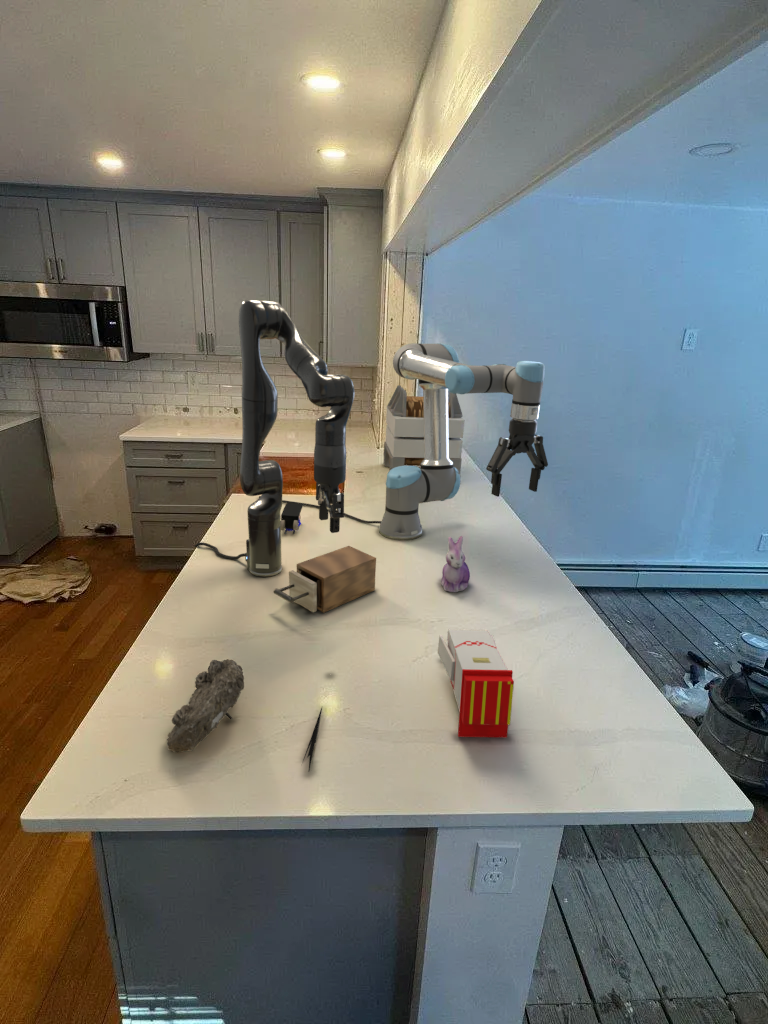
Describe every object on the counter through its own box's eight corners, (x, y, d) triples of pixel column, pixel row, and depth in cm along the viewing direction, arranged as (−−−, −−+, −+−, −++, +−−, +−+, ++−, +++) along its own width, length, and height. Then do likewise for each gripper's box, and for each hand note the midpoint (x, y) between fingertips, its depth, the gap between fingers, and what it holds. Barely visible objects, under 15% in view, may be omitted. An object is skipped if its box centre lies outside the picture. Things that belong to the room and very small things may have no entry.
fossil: (192, 660, 117) (244, 628, 112) (224, 691, 120) (276, 661, 115) (142, 746, 98) (202, 712, 93) (182, 779, 101) (242, 748, 96)
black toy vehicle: (298, 540, 193) (303, 520, 207) (298, 520, 190) (303, 501, 204) (279, 540, 193) (285, 519, 207) (278, 520, 190) (284, 501, 203)
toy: (488, 613, 130) (523, 677, 101) (484, 667, 133) (517, 744, 104) (435, 612, 130) (455, 676, 101) (432, 666, 133) (451, 743, 103)
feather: (331, 679, 122) (336, 673, 122) (307, 777, 96) (313, 769, 95) (324, 675, 122) (329, 669, 121) (298, 772, 95) (304, 764, 95)
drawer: (294, 620, 140) (293, 591, 138) (270, 606, 147) (269, 578, 144) (362, 591, 156) (363, 564, 154) (338, 578, 163) (339, 553, 160)
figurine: (451, 596, 157) (455, 546, 152) (431, 580, 166) (435, 533, 161) (478, 590, 162) (484, 541, 157) (458, 575, 170) (462, 529, 165)
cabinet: (323, 613, 146) (323, 578, 143) (297, 597, 154) (296, 563, 150) (374, 590, 159) (376, 557, 156) (348, 576, 166) (348, 545, 163)
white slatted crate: (382, 463, 289) (386, 382, 275) (445, 464, 293) (451, 384, 279) (390, 482, 257) (394, 392, 243) (460, 483, 261) (468, 394, 247)
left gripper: (306, 454, 137) (305, 517, 143) (324, 470, 125) (323, 538, 131) (335, 453, 140) (334, 514, 146) (355, 468, 128) (353, 534, 134)
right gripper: (495, 424, 147) (487, 501, 155) (567, 420, 158) (556, 492, 166) (478, 418, 154) (471, 493, 161) (549, 415, 165) (538, 484, 172)
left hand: (328, 525), depth 138 cm, fingers open, 8 cm apart
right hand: (514, 492), depth 163 cm, fingers open, 13 cm apart
